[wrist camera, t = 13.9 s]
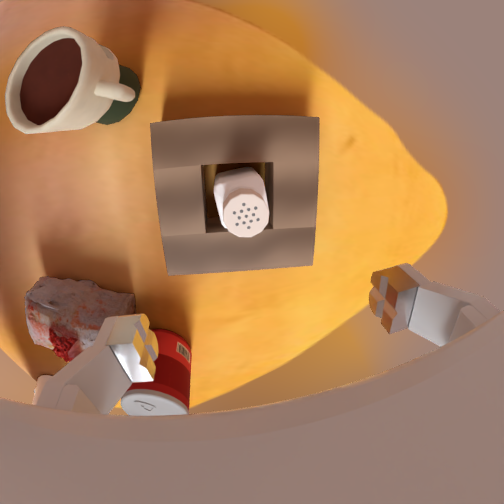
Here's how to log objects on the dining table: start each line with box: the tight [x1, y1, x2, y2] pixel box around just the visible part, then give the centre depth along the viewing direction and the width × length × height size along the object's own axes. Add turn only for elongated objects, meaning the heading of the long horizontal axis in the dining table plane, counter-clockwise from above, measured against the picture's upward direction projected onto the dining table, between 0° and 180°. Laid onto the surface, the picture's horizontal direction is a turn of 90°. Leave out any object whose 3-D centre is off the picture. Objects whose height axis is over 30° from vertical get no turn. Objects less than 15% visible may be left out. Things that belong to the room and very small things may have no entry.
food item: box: [24, 276, 136, 362], centre depth 26 cm, size 14×8×10 cm, turn 79°
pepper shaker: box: [214, 167, 269, 237], centre depth 23 cm, size 4×4×10 cm
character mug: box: [5, 26, 141, 134], centre depth 15 cm, size 11×7×13 cm, turn 68°
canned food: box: [121, 329, 192, 416], centre depth 30 cm, size 8×8×11 cm
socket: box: [150, 115, 319, 276], centre depth 25 cm, size 14×14×4 cm
